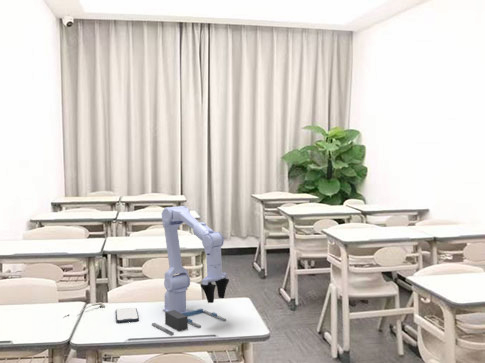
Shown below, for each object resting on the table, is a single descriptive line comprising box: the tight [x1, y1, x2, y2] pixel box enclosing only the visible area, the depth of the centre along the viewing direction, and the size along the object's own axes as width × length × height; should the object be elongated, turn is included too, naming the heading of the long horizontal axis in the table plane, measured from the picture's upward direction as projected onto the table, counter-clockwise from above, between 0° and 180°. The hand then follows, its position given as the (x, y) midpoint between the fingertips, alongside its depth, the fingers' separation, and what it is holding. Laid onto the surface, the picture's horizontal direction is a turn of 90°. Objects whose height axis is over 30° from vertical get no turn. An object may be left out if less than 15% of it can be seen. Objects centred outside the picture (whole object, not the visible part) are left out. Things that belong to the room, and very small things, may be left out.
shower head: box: [81, 301, 106, 312], centre depth 208 cm, size 5×3×20 cm
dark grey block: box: [164, 310, 189, 332], centre depth 190 cm, size 10×4×5 cm, turn 38°
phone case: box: [115, 307, 140, 324], centre depth 202 cm, size 9×2×16 cm
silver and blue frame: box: [151, 308, 227, 337], centre depth 194 cm, size 15×25×2 cm, turn 130°
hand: (216, 300), depth 189 cm, fingers open, 7 cm apart
